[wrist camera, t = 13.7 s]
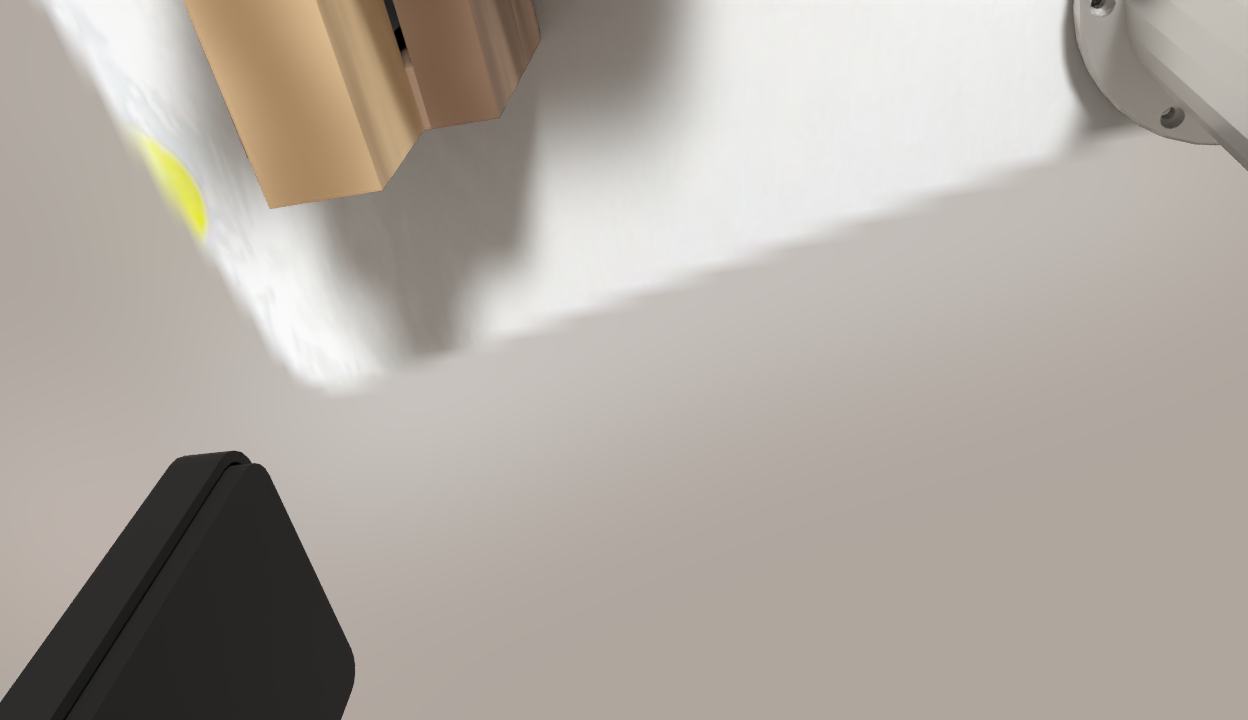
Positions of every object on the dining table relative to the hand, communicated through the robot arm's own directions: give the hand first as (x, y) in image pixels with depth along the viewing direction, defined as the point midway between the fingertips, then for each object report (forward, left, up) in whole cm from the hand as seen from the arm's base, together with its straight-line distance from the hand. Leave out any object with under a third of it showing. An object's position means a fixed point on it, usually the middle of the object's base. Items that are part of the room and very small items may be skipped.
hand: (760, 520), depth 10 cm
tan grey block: (+13, -2, -30) cm, 33 cm away
